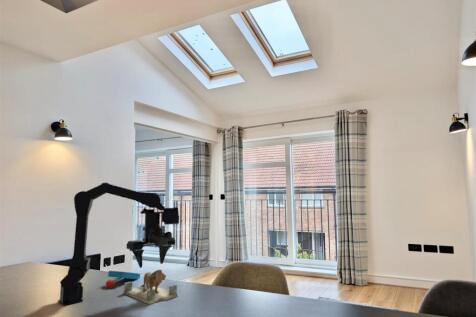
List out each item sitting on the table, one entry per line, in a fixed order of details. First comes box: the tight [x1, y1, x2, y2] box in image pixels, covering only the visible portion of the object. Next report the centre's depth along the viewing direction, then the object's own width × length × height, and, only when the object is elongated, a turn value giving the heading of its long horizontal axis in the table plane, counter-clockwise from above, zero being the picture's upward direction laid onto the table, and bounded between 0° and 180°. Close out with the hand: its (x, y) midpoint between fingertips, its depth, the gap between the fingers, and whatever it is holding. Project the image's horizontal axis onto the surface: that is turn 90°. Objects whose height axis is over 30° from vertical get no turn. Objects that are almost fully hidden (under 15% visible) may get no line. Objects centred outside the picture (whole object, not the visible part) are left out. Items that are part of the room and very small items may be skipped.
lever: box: [105, 270, 141, 289], centre depth 141 cm, size 7×7×18 cm
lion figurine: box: [140, 269, 167, 293], centre depth 124 cm, size 15×5×9 cm, turn 48°
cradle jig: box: [123, 281, 178, 305], centre depth 124 cm, size 12×19×4 cm, turn 47°
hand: (151, 265), depth 125 cm, fingers open, 9 cm apart
